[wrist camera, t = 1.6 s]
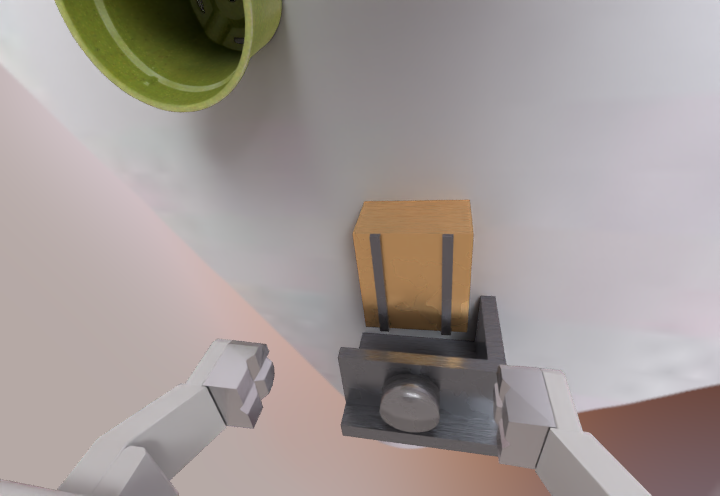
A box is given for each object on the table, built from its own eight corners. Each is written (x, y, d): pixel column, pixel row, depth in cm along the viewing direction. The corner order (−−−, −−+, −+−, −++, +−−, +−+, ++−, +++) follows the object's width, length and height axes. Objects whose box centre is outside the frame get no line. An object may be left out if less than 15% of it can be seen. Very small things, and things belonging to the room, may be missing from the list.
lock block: (365, 200, 30) (351, 236, 26) (469, 198, 28) (473, 237, 24) (375, 287, 35) (365, 330, 30) (464, 290, 33) (467, 336, 29)
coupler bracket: (357, 288, 35) (331, 379, 27) (495, 296, 33) (511, 398, 24) (364, 342, 39) (342, 435, 31) (486, 353, 37) (498, 456, 29)
